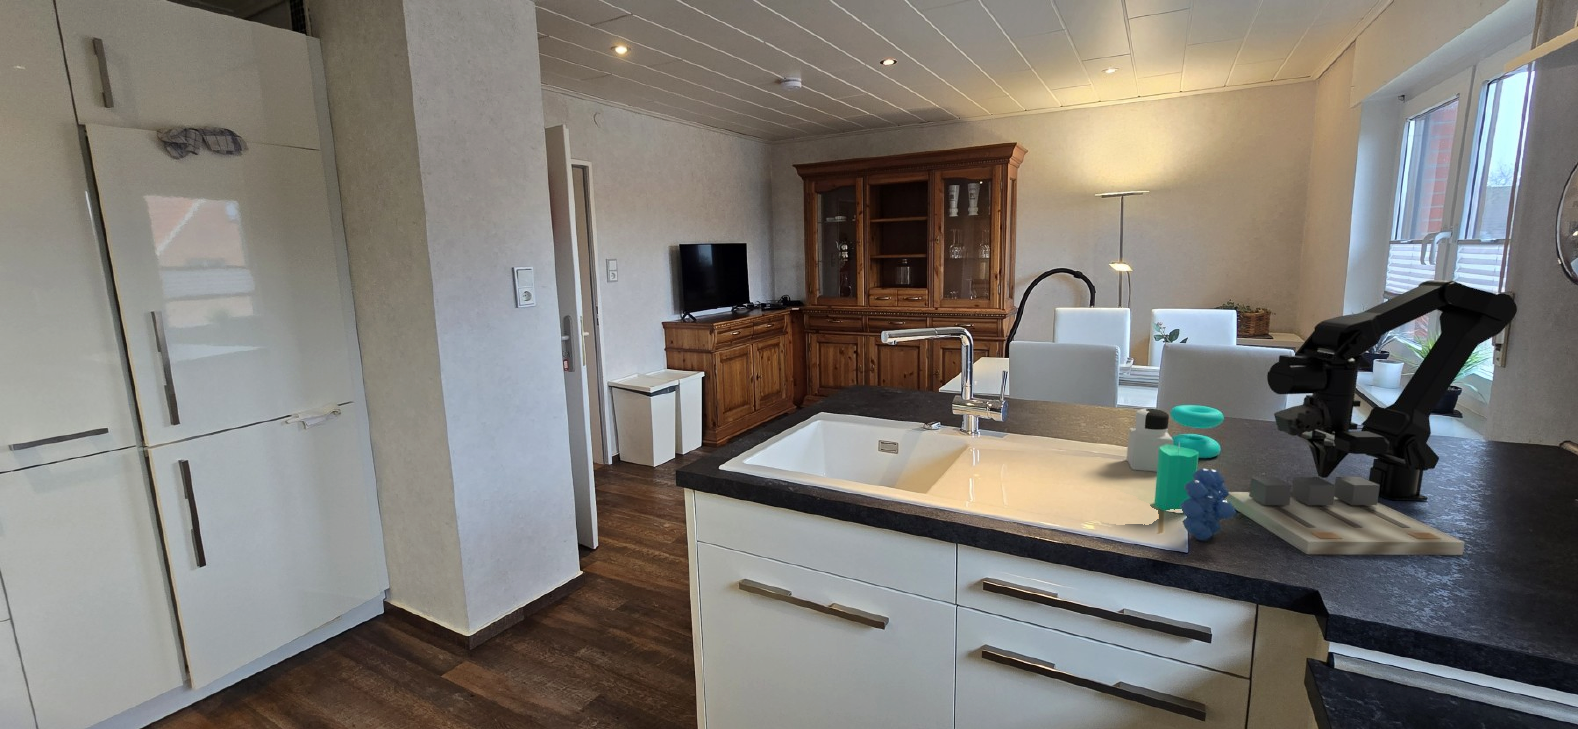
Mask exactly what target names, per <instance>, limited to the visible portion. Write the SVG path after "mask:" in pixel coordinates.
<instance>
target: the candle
mask: <svg viewBox="0 0 1578 729" xmlns="http://www.w3.org/2000/svg"><path fill="white" fill-rule="evenodd" d="M1198 456H1199V452H1197V451H1196V450H1192V449H1187V448H1183V447H1180V442H1179V446H1174V445H1169V444H1167V445H1163V446H1161V447H1160V448H1159V455H1158V467H1157V472H1156V481H1155V482H1156V483H1155V494H1154V506H1155V507H1156V508H1157V509H1158V510H1162V511H1164V512H1167V511H1166V510H1170V509H1174V510H1175V509H1181V506H1180V505H1181V504H1182V503H1183V502H1184V501H1185V500H1188V499H1189V498H1190V497H1189V495H1188V494H1187V492H1186V490H1185V488H1184V486H1185V485H1186V484H1187V483H1188V482H1190V481H1192V480H1194V478H1193V474H1194V473H1195V472H1196V471H1197V470H1198V464H1199V458H1198Z"/></svg>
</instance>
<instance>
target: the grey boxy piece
mask: <svg viewBox="0 0 1578 729" xmlns="http://www.w3.org/2000/svg"><path fill="white" fill-rule="evenodd" d="M1334 482H1335V483H1334V485H1336V486H1335V494H1334V497H1336V498H1338V499H1340V500H1342V501H1344V502H1346V503H1348V504H1350V505H1377V502H1378V500H1379V496H1380V495H1379V488H1380V485H1378V484H1376V483H1373V482H1371V481H1369V479H1366V478H1364V477H1361V476H1335V481H1334ZM1378 503H1379V502H1378Z"/></svg>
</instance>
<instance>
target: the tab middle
mask: <svg viewBox="0 0 1578 729" xmlns="http://www.w3.org/2000/svg"><path fill="white" fill-rule="evenodd" d="M1291 485H1292V487H1291V492H1292V493H1291V496H1292V497H1293V498H1295V499H1297V500H1299V501H1301V502H1303V503H1305V504H1307V505H1333V501H1334V494H1335V486H1336V485H1335V483H1334V484H1333V483H1332V482H1330V481H1327V480H1325V479H1323V478H1322V477H1319V476H1293V477H1292V484H1291Z"/></svg>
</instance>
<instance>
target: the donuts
mask: <svg viewBox="0 0 1578 729" xmlns="http://www.w3.org/2000/svg"><path fill="white" fill-rule="evenodd" d="M1169 414H1170V415H1169V417H1170V418H1171V419H1172V420H1173V421H1174V422H1175V423H1177V424H1178V425H1182V426H1185V427H1189V428H1194V429H1196V428H1197V429H1211V428H1215V427H1217V426H1220V425H1221V424H1222V423H1223V422H1224V418H1225V416H1224V415H1223V413H1222V412H1221V410H1218V409H1216V408H1213V407H1209V406H1204V405H1197V404H1182V405H1180V404H1179V405H1176V406H1175V407H1172V408H1171V409H1170V412H1169ZM1171 438H1172V439H1173V445H1174V446H1179V442H1180V447H1183V448H1187V449H1192V450H1196V451H1197V452H1199V456H1198V459H1211V458H1214V457H1216V456H1219V454H1221V448H1222V447H1221V446H1220V444H1219V443H1218V442H1217V441H1216V440H1215V439H1213V438H1211V437H1209V436H1206V435H1202V434H1201V435H1200V434H1195V433H1180V434H1175V435H1173V436H1171Z"/></svg>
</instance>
